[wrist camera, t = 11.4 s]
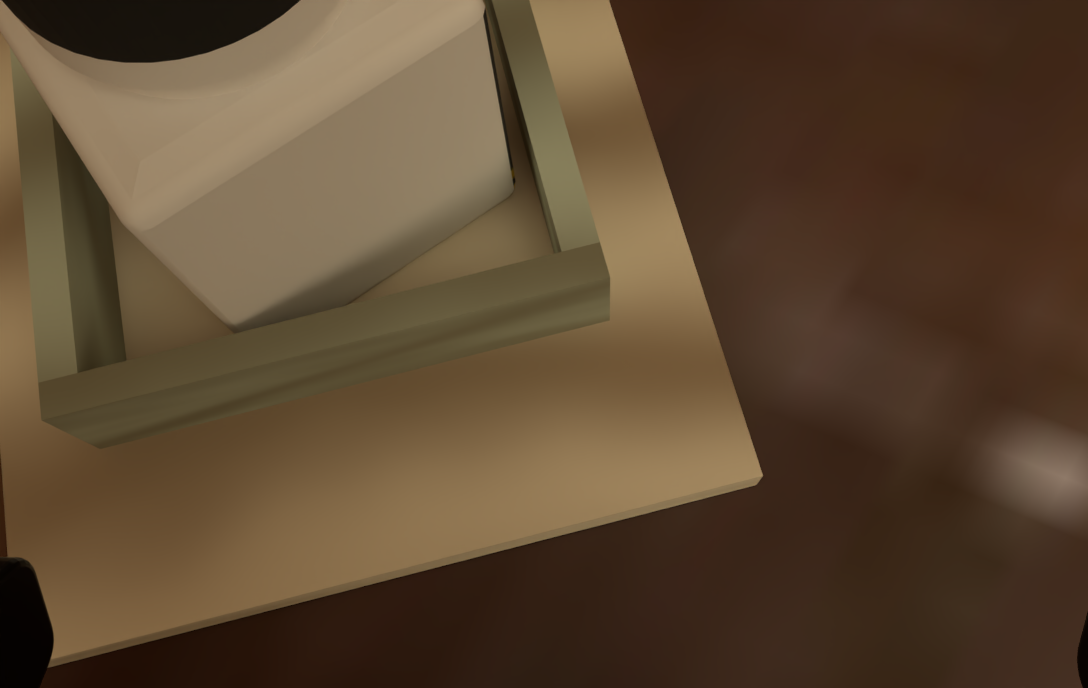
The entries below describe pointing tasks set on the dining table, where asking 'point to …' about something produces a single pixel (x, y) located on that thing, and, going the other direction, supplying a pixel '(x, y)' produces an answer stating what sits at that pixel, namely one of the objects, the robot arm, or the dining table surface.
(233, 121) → the medicine bottle
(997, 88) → the dining table surface
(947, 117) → the dining table surface
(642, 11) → the dining table surface
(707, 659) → the dining table surface
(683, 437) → the holder board
